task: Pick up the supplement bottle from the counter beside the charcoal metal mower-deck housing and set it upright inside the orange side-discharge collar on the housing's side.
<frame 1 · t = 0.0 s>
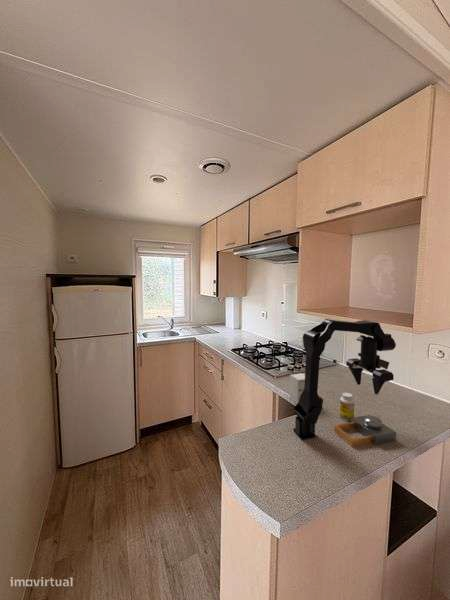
hand: (367, 389, 101), 15 cm above the worktop, tool pointing down, fingers open, 9 cm apart
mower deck: (372, 433, 95), on the worktop
supplement bottle: (346, 417, 106), on the worktop
supplement box: (299, 401, 121), on the worktop
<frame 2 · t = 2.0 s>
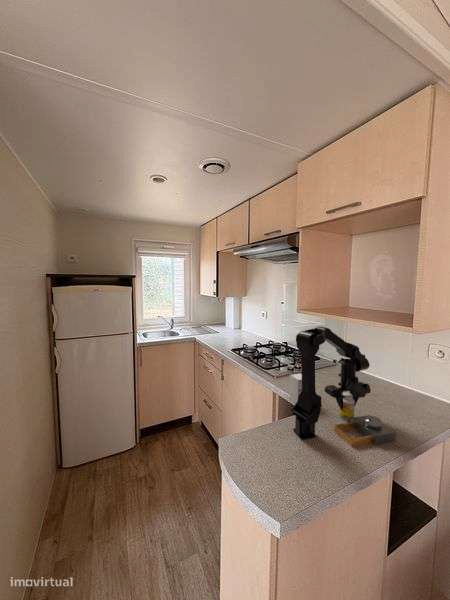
hand: (346, 408, 106), 4 cm above the worktop, tool pointing down, fingers closed on supplement bottle, 5 cm apart
supplement bottle: (346, 417, 106), on the worktop, touching gripper
everything else where it was.
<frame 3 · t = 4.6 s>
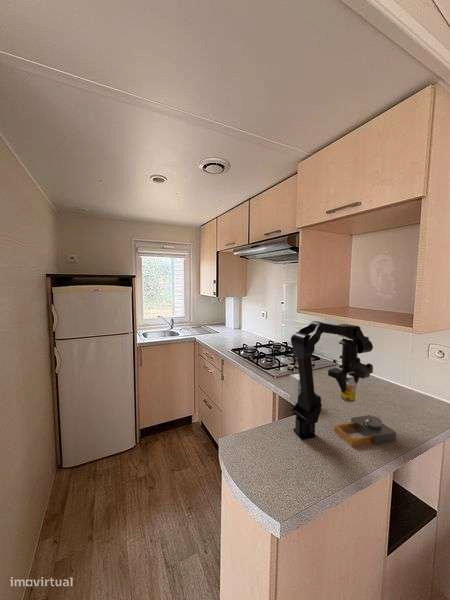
hand: (348, 391, 103), 13 cm above the worktop, tool pointing down, fingers closed on supplement bottle, 5 cm apart
supplement bottle: (347, 400, 104), point 8 cm above the worktop, touching gripper
everything else where it was.
when the fingers open (6 cm above the worktop, at t = 7.2 s): supplement bottle drops 2 cm, resting in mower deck.
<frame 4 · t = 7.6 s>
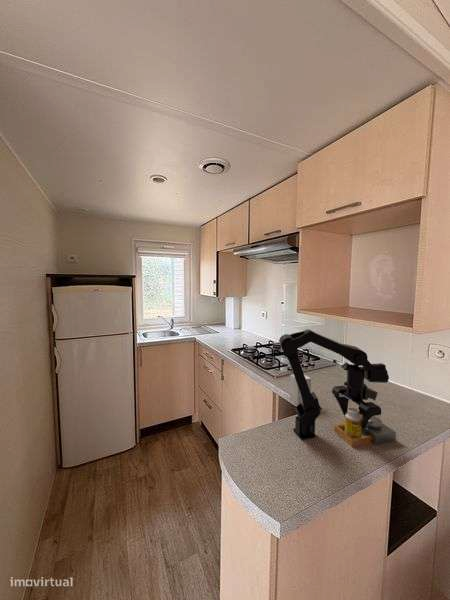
hand: (353, 421, 93), 6 cm above the worktop, tool pointing down, fingers open, 9 cm apart
supplement bottle: (352, 436, 93), resting in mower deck
everything else where it was.
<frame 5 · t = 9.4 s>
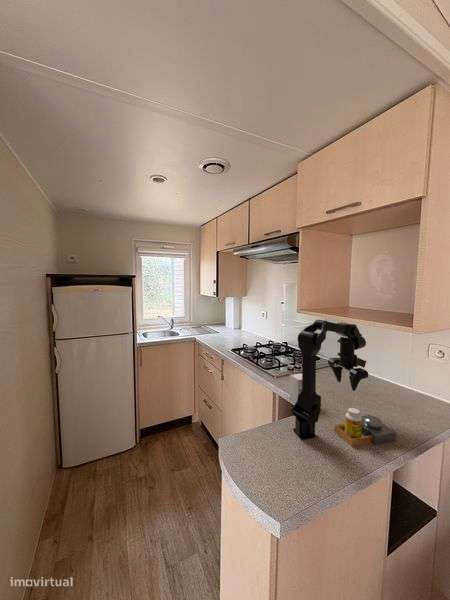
hand: (346, 386, 109), 12 cm above the worktop, tool pointing down, fingers open, 9 cm apart
nothing on the worktop moved.
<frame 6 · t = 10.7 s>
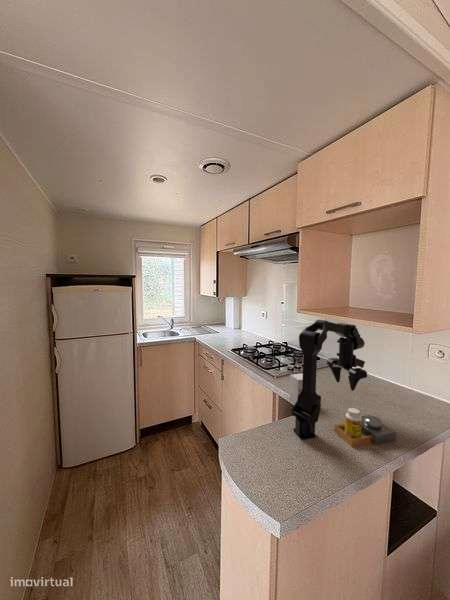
hand: (345, 386, 110), 12 cm above the worktop, tool pointing down, fingers open, 9 cm apart
nothing on the worktop moved.
at the end: supplement bottle 0.2 cm from the target spot, resting in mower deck; supplement bottle tilted 0°; the gripper is holding nothing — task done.
